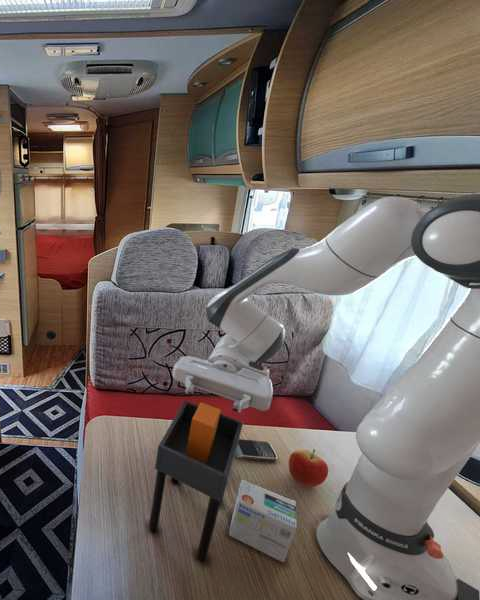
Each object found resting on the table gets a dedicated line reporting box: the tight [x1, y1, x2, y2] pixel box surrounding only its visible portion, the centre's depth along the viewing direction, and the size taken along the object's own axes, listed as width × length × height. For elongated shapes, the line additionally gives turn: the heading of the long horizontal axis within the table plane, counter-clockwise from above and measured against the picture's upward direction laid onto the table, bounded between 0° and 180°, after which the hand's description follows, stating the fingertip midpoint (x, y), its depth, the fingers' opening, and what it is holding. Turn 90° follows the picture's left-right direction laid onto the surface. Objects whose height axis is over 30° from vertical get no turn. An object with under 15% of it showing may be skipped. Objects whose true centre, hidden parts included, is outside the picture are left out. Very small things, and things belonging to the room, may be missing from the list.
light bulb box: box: [228, 478, 298, 564], centre depth 69 cm, size 11×7×11 cm, turn 59°
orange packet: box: [186, 402, 222, 465], centre depth 66 cm, size 4×6×10 cm, turn 146°
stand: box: [148, 470, 227, 563], centre depth 72 cm, size 12×16×18 cm
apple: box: [288, 448, 329, 488], centre depth 82 cm, size 8×8×10 cm
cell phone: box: [235, 438, 278, 462], centre depth 92 cm, size 6×11×1 cm, turn 84°
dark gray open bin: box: [154, 400, 244, 503], centre depth 67 cm, size 13×17×6 cm
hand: (212, 400), depth 67 cm, fingers open, 8 cm apart
